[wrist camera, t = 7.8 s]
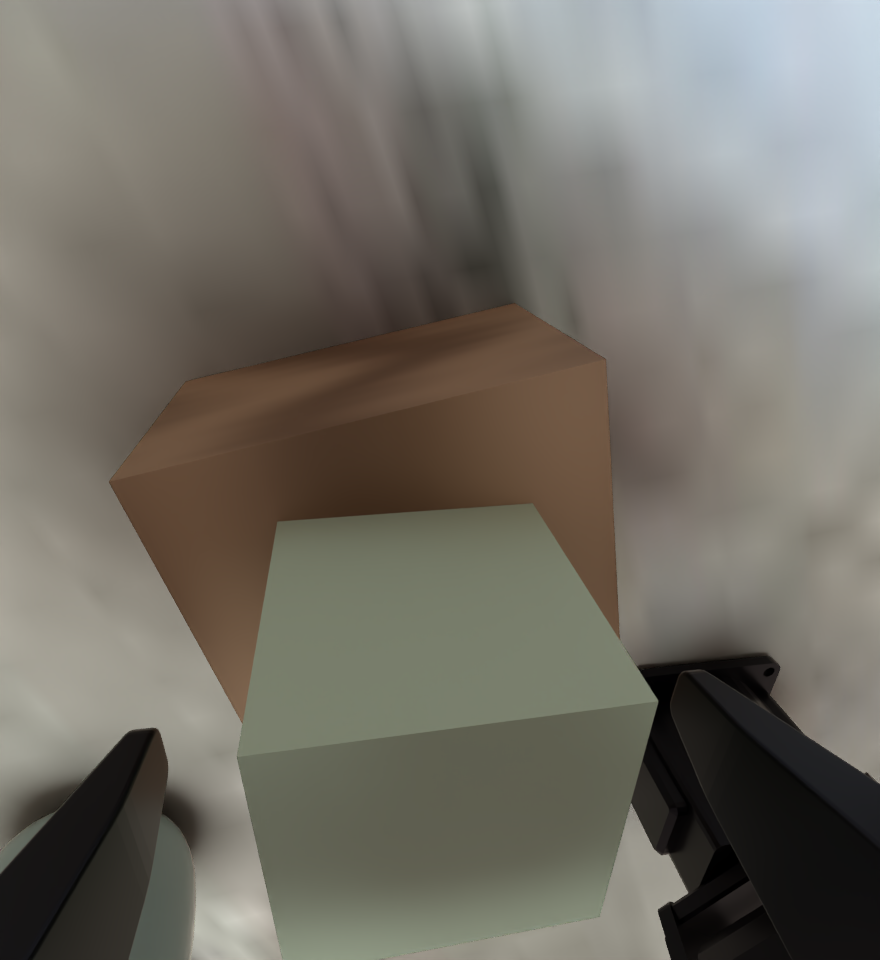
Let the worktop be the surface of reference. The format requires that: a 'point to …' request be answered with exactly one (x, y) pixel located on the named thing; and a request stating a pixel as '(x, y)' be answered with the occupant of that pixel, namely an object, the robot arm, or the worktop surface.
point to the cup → (151, 893)
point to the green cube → (434, 733)
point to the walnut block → (370, 459)
